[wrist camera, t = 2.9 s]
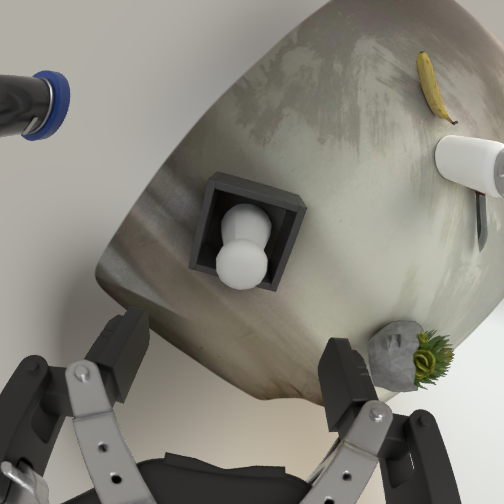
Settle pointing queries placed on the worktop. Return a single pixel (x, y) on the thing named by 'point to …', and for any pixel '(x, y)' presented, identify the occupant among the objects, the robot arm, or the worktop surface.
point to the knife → (481, 219)
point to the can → (472, 163)
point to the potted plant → (407, 356)
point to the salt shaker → (243, 246)
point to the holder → (296, 209)
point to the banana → (431, 87)
